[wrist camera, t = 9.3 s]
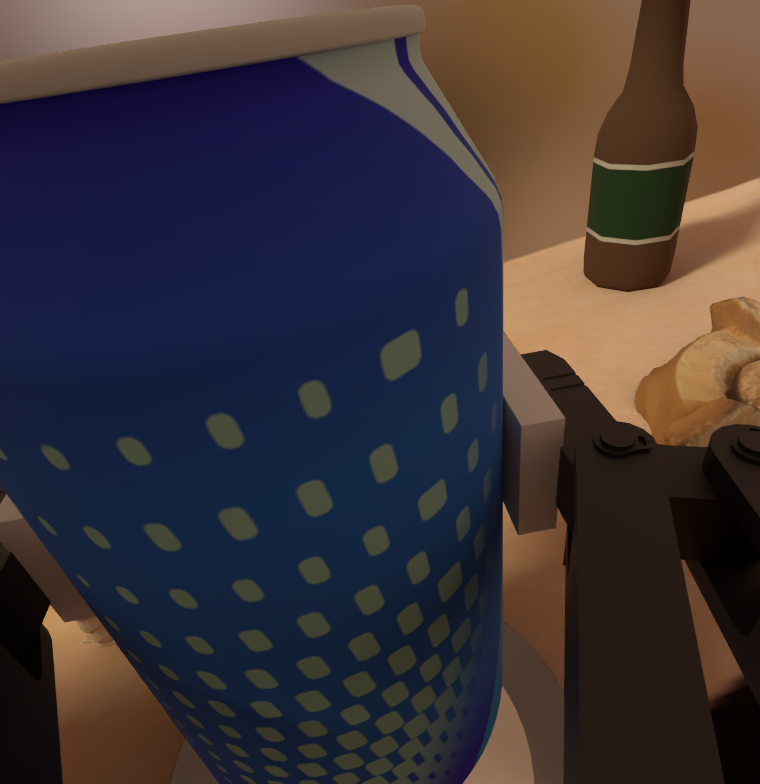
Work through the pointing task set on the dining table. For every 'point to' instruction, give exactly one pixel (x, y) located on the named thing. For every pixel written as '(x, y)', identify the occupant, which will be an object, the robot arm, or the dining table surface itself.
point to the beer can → (265, 385)
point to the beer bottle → (643, 159)
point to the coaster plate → (510, 733)
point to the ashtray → (707, 380)
